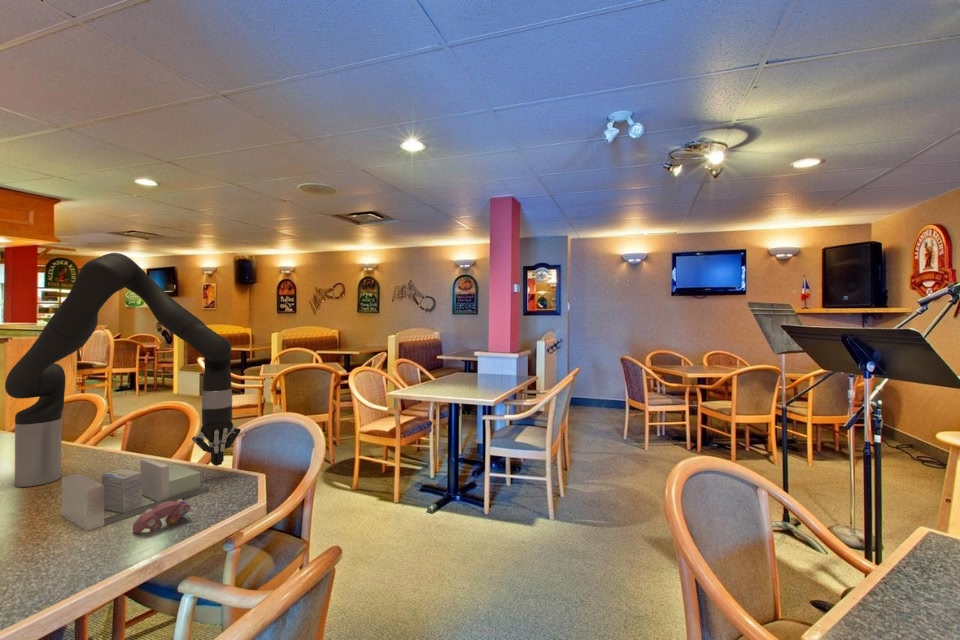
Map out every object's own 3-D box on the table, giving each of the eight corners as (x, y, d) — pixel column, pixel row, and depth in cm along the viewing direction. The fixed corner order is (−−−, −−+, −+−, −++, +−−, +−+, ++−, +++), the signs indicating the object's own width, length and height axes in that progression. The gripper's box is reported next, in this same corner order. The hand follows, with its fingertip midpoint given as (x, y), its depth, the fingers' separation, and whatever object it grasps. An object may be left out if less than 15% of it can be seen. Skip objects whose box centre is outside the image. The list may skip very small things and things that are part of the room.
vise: (61, 515, 101) (61, 477, 101) (181, 480, 123) (181, 449, 123) (86, 531, 94) (87, 490, 94) (209, 491, 116) (209, 457, 116)
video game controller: (137, 544, 91) (144, 519, 90) (129, 530, 93) (135, 504, 92) (188, 525, 100) (195, 502, 98) (180, 512, 102) (186, 489, 100)
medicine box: (143, 506, 106) (143, 471, 106) (123, 514, 102) (123, 478, 102) (121, 502, 108) (121, 468, 108) (101, 509, 104) (101, 474, 104)
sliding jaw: (140, 493, 113) (140, 459, 113) (178, 482, 121) (178, 450, 121) (162, 503, 107) (162, 467, 107) (200, 491, 115) (200, 457, 115)
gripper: (232, 400, 132) (232, 456, 132) (185, 407, 120) (185, 469, 120) (247, 402, 128) (247, 460, 128) (199, 410, 117) (199, 474, 117)
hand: (217, 464), depth 124 cm, fingers closed
